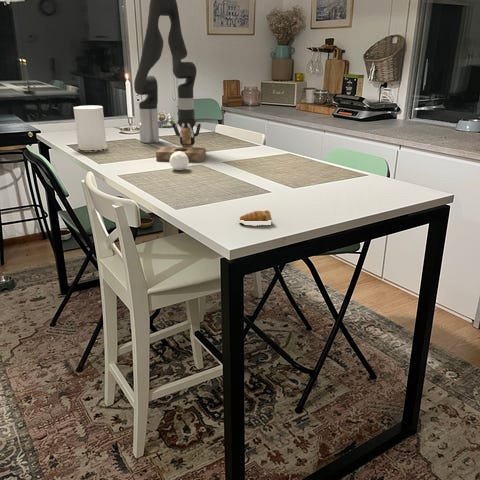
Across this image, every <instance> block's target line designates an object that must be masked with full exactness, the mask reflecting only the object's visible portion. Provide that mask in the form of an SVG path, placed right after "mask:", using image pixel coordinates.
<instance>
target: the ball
mask: <svg viewBox="0 0 480 480" xmlns="http://www.w3.org/2000/svg"><path fill="white" fill-rule="evenodd" d="M169 163H170V167H171V168H172V169H173V170H175V171H178V170H180V171H183V170H186V168H187V167H188V165H189V163H190V162H189V160H188V157H187V155H186V154H185V153H184V152H180V151H178V152H175V153H173V154H172V155H171V157H170V161H169Z"/></svg>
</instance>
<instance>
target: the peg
mask: <svg viewBox="0 0 480 480" xmlns="http://www.w3.org/2000/svg"><path fill="white" fill-rule="evenodd" d="M181 147H193V148H194V144H193V145H191V133H190V128H182V145H181Z"/></svg>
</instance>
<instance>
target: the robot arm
mask: <svg viewBox="0 0 480 480" xmlns="http://www.w3.org/2000/svg"><path fill="white" fill-rule="evenodd" d="M160 16H162V17H163V16H164V17H168V18H169V20H170V27H169V28H170V29H169V32H168V36H167V37H168V38H167V42H168V43H167V44H168V47H169V51H170V54H171V59H172V73H173V75H174V77H175V78H176V79H179V80H181V79H185V81H184V83H180V84H179V85H178V86H177V113H178V114H177V115H178V118H177V119H178V120H177V122H174V123H173V124H172V125H171V126H173V127H172V128H173V130H174V134H175V136H176V137H179V143H180V144H181V146H182V128H190V133H191V145H193V146H194V145H195V143H196V139H195V137H198V136H199V134H200V131H201V128H202V127H201V126H202V123H201V122H196V118H195V100H194V98H195V97H194V86H195V81H196V77H197V66H196V64H195V63H194V62H193V61H182V60H183V59H186V58H187V56H188V49H187V47H186V43H185V41H184V38H183V33H182V25H181V20H180V13H179V9H178V3H177V0H150V1H149V7H148V18H147V25H146V29H145V30H146V31H145V35H144V40H143V45H142V50H141V56H140V60H139V64H138V67H137V68H138V69H137V71H136V75H135V78H134V83H133V86H134V87H133V88H134V92H135V94H136V95H138V96H139V95H140V96H146V95H147V96H146V97H145V99H144V100H142V101H140V102H139V103H138V107H139V109H138V110H139V121H140V123H139V124H138V125H139V126H138V127H139V129H138V130H139V140H140V143H145V144H148V143H149V144H151V143H152V144H154V143H159V142H160V133H159V126H158V113H159V112H158V103H159V102H158V101H159V98H158V97H159V94H158V90H159V89H158V88H159V87H158V80H157V78H156V77H155V76H154V75H148V74H149V72H150V71H151V69H152V68H153V67H154V66H155V65H156V64H157V63H158V62H159V60H160V58H161V57H162V54H163V49H164V38H163V36H162V33H161V31H160V27H159V21H160ZM178 127H179V128H180V130H179V128H178ZM194 127H195V128H196V130H195V131H194Z"/></svg>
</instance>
